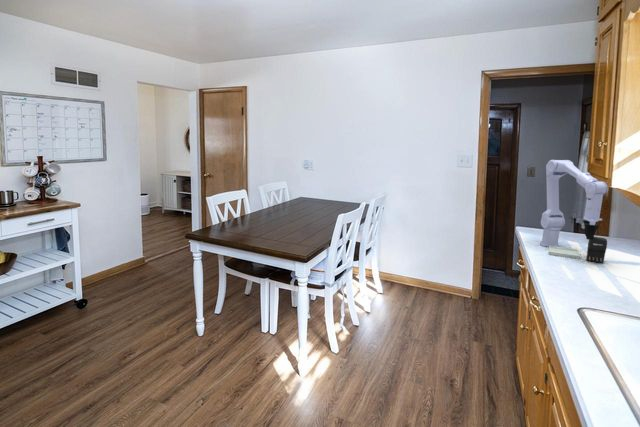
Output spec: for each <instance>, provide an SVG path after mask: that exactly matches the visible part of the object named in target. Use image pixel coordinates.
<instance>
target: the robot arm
mask: <svg viewBox="0 0 640 427" xmlns="http://www.w3.org/2000/svg"><path fill="white" fill-rule="evenodd" d="M545 171H546V172H545V174H546V175H545V176H546V177H545V178H546V210H545V211H543V213H541V218H540V225H541V227H542V228H543V232H542V238H541V239H542V240H541V241H540V246H541V247H548V248H549V246H556V247H560V246H559V238H560V231H561V230H562V228H564V227H565V224H566V220H565V217H564V216H565V215H564V213H563V212H562V211H561V210H560V186H559V185H560V184H559V183H560V179H561V177H564V176H565V175H567V174H569V175H570V176H572V177H574V178H575V179H576V180H575V181H576V183H577V184H579V185H580V186H581V187H582V188H584V191H585V197H586V203H585V209H584V216H583V219H582V222H583V226H584V235H585V238H586V240H588V241H589V240H592V239H593V237H594V236H595V234H596V232H597V230H598V229H599V228H600V225H599V224H597V223H598V222H599V221H601V222H602V221H603V218H600V215H601V211H602V210H601V209H602V204H603V199H604V198H603V197H604V195H605V194H606V193H607V192H608V184H607V183H606V182H605V181H602V180H601V181H598V179H597V178H595V177H593V176H592V175H591V173H590V172H582V170H580V169H578V167H577V166H575V165H574V162H573V161H571V160H569V159H562V160H561V159H550V160H549V161H548V162H547V164H546V165H545Z"/></svg>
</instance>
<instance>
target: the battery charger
mask: <svg viewBox="0 0 640 427" xmlns="http://www.w3.org/2000/svg"><path fill="white" fill-rule="evenodd" d="M607 247H608V240H607V238H606V237H601V236H595V235H594V237H593V239H592V240H589V239H588V242H587V249H586V250H587V251H586V257H585V259H586V261H588V262H591V263H597V264H598V263H599V264H603V263H604V262H605V256H606V253H607V252H606V251H607Z"/></svg>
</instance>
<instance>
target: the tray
mask: <svg viewBox="0 0 640 427" xmlns="http://www.w3.org/2000/svg"><path fill="white" fill-rule="evenodd" d="M548 255H549V256H555V257H560V258H561V257H563V258H569V259H576V260H581V254H580V250H579V249H578V248H571V247H570V248H569V247H562V246H559V247H556V246H549V247H548Z"/></svg>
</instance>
